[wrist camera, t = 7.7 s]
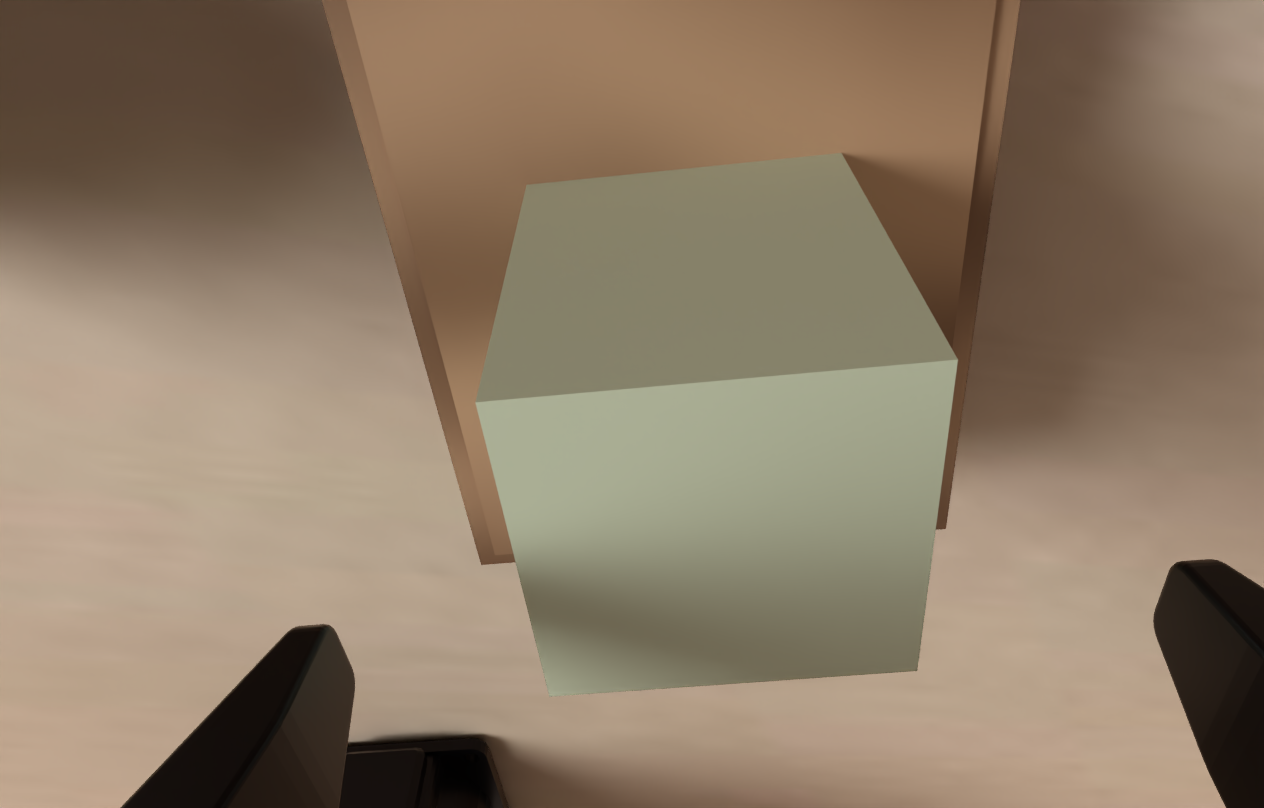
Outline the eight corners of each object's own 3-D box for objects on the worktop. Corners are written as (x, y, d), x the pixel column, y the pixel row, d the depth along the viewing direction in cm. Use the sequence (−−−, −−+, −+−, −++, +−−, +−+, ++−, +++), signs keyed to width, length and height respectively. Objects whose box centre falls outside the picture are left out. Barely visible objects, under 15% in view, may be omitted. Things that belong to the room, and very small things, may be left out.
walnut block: (898, 416, 22) (947, 533, 19) (501, 450, 23) (480, 569, 19) (948, -147, 15) (1041, -122, 12) (375, -79, 16) (307, -37, 12)
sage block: (832, 409, 17) (917, 670, 12) (570, 432, 17) (549, 696, 12) (841, 152, 14) (957, 359, 9) (526, 185, 14) (475, 402, 9)
